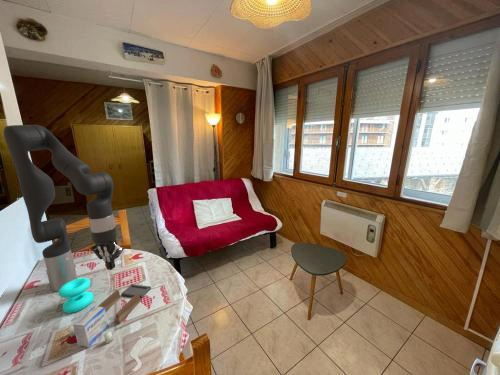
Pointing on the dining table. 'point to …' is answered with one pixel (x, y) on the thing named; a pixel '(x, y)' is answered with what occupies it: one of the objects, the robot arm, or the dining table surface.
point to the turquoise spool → (76, 295)
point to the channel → (126, 308)
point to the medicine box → (90, 326)
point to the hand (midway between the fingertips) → (111, 268)
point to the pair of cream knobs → (107, 335)
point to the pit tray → (136, 290)
